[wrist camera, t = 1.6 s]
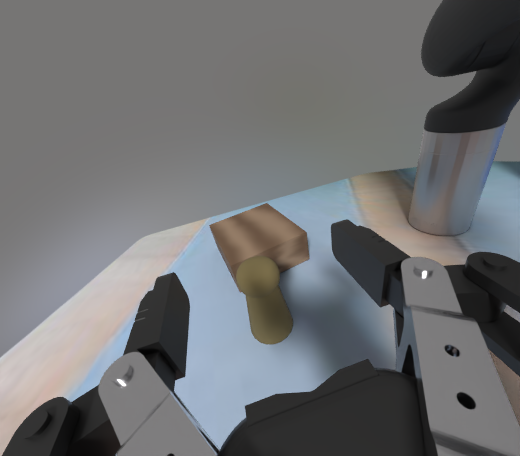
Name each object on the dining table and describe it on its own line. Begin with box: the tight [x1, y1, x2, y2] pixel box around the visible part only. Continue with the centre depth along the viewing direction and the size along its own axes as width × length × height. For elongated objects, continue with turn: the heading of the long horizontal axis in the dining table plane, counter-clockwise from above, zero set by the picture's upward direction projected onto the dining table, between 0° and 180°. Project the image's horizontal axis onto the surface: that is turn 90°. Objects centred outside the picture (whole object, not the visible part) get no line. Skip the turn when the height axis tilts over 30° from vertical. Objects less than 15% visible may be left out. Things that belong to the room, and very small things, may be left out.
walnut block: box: [209, 203, 309, 292], centre depth 43 cm, size 14×16×6 cm
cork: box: [236, 256, 293, 344], centre depth 28 cm, size 6×6×11 cm
